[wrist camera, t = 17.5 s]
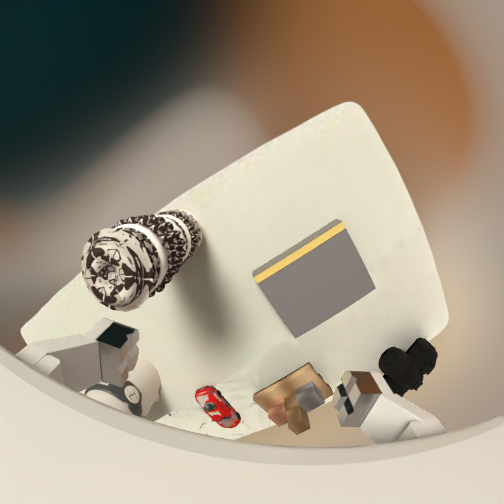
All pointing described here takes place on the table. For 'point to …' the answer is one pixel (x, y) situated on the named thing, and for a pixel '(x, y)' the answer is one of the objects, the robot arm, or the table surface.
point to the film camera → (407, 366)
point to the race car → (217, 407)
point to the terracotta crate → (278, 412)
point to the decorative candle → (138, 257)
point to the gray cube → (309, 396)
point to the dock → (315, 278)
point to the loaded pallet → (292, 387)
